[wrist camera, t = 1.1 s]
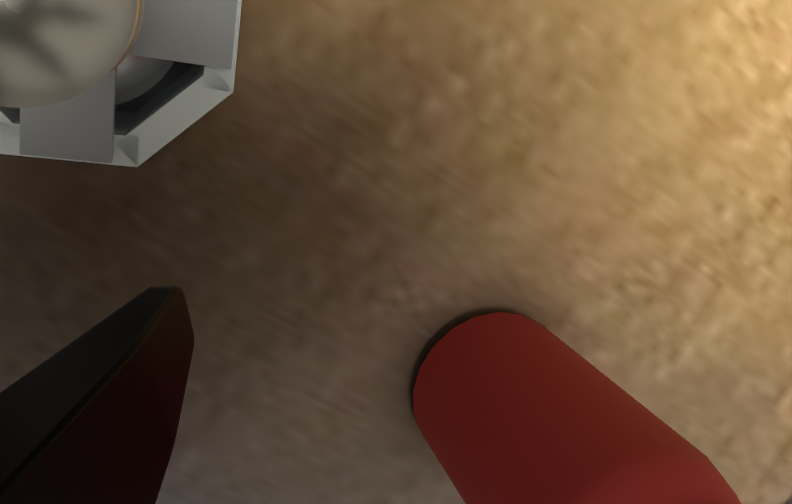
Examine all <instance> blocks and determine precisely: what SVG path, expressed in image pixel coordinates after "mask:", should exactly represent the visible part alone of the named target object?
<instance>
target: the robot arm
mask: <svg viewBox="0 0 792 504" xmlns="http://www.w3.org/2000/svg"><path fill="white" fill-rule="evenodd" d="M193 347H194V333H193V328H192V324H191V320H190V316H189V312H188V307H187V303H186V299H185V295H184V293H183V291H182V289H180V288H179V287H177V286H155V287H150V288H148V289H146V290H145V291H143V292H142V293H141V294H139V295H138V296H136V297H135V298H133V299H132V300H131V301H129V302H128V303H126V304H125V305H124V306H122V307H121V308H119V309H118V310H117V311H115V312H114V313H112V314H111V315H109V316H108V317H107V318H105V319H104V320H102V321H101V322H100V323H98V324H97V325H95V326H94V327H93V328H91V329H90V330H88V331H87V332H85V333H84V334H83V335H81V336H80V337H78V338H77V339H76V340H74V341H73V342H71V343H70V344H69V345H67V346H66V347H64V348H63V349H61V350H60V351H59V352H57V353H56V354H54V355H53V356H52V357H50V358H49V359H47V360H46V361H45V362H43V363H42V364H40V365H39V366H38V367H36V368H35V369H33V370H32V371H30V372H29V373H28V374H26V375H25V376H23V377H22V378H21V379H19V380H18V381H16V382H15V383H14V384H12V385H11V386H9V387H8V388H6V389H5V390H4V391H2V392H1V393H0V504H155V503H156V500H157V497H158V494H159V491H160V488H161V485H162V481H163V478H164V475H165V472H166V469H167V466H168V463H169V460H170V457H171V453H172V450H173V446H174V443H175V438H176V434H177V429H178V424H179V419H180V414H181V409H182V404H183V399H184V394H185V389H186V384H187V378H188V373H189V368H190V363H191V358H192V353H193Z"/></svg>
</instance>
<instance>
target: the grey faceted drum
mask: <svg viewBox="0 0 792 504" xmlns="http://www.w3.org/2000/svg"><path fill="white" fill-rule="evenodd" d="M241 4H242V0H144V16H143V23H142V27H141V30H140V34H139V36H138V38H137V41H136V43H135V45H134V47H133V48H132V50H131V51H130V53H129V54H131V55H138V56H144V57H151V58H157V59H164V60H170V61H174V63H173V64H172V66H171V67H170V69H169V70H168V72H167V73H166V74H165V75H164V76H163V78H162V79H161V80H160V81H159V82H158V83H156V84H155V85H154V86H153V87H152V88H151V89H149V90H148V91H146V92H145V93H143V94H142V95H140V96H138V97H136V98H134V99H132V100H130V101H128V102H125V103H122V104H119V105H115V104H116V82H117V67H116V68H115V69H114V70H113V71H112V72H110V73H109V74H108V75H107V76H106V77H104V78H103V79H102V80H101V81H100V82H99V83H97V84H96V85H95V86H93V87H91V88H90V89H88V90H87V91H85V92H84V93H82V94H80V95H78V96H75V97H73V98H71V99H69V100H66V101H63V102H59V103H56V104H52V105H47V106H41V107H30V108H14V107H2V106H0V154H6V155H17V156H27V157H37V158H48V159H58V160H68V161H79V162H89V163H99V164H109V165H120V166H130V167H138V166H139V165H141V164H142V163H143V162H144V161H146V160H147V159H148V158H150V157H151V156H152V155H153V154H155V153H156V152H157V151H159V150H160V149H161V148H162V147H164V146H165V145H166V144H168V143H169V142H170V141H171V140H173V139H174V138H175V137H176V136H178V135H179V134H180V133H182V132H183V131H184V130H185V129H187V128H188V127H189V126H191V125H192V124H193V123H194V122H196V121H197V120H198V119H200V118H201V117H202V116H203V115H205V114H206V113H207V112H208V111H210V110H211V109H212V108H214V107H215V106H216V105H217V104H219V103H220V102H221V101H223V100H224V99H225V98H226V97H228V96H229V95H230V94H232V93H233V90H234V80H235V69H236V58H237V47H238V36H239V26H240V15H241Z"/></svg>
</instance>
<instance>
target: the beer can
mask: <svg viewBox="0 0 792 504" xmlns="http://www.w3.org/2000/svg"><path fill="white" fill-rule="evenodd" d="M413 402H414V417H415V419H416V421H417V423H418V426H419V428H420V430H421V432H422V434H423V436H424V438H425V439H426V441H427V443H428V444H429V446H430V447H431V449H432V451H433V452H434V454H435V455H436V457H437V459H438V460H439V462H440V463H441V465H442V467H443V468H444V470H445V471H446V473H447V475H448V476H449V478H450V479H451V481H452V483H453V484H454V486H455V487H456V489H457V491H458V492H459V494H460V495H461V497H462V499H463V500H464V502H465V503H466V504H741V502H740V501H739V499H738V497H737V495H736V494H735V492H734V491H733V490H732V488H731V487H730V486H729V484H728V483H727V482H726V480H725V479H724V478H723V476H722V475H721V474H720V473H719V471H718V470H717V469H716V468H715V466H714V465H713V464H712V463H711V461H710V460H709V459H708V458H707V456H705V455H704V454H703V453H702V452H700V451H699V450H698V449H697V448H695V447H694V446H693V445H692V444H690V443H689V442H688V441H687V440H685V439H684V438H683V437H682V436H680V435H679V434H678V433H677V432H675V431H674V430H673V429H672V428H670V427H669V426H668V425H667V424H665V423H664V422H663V421H662V420H660V419H659V418H658V417H657V416H655V415H654V414H653V413H652V412H650V411H649V410H648V409H647V408H645V407H644V406H643V405H642V404H640V403H639V402H638V401H636V400H635V399H634V398H633V397H631V396H630V395H629V394H628V393H626V392H625V391H624V390H623V389H621V388H620V387H619V386H618V385H616V384H615V383H614V382H613V381H611V380H610V379H609V378H608V377H606V376H605V375H604V374H603V373H601V372H600V371H599V370H598V369H596V368H595V367H594V366H593V365H591V364H590V363H589V362H588V361H586V360H585V359H584V358H583V357H581V356H580V355H579V354H578V353H576V352H575V351H574V350H573V349H571V348H570V347H569V346H568V345H566V344H565V343H564V342H563V341H561V340H560V339H559V338H558V337H556V336H555V335H554V334H552V333H551V332H550V331H549V330H547V329H546V328H545V327H544V326H542V325H541V324H539V323H537V322H536V321H534V320H532V319H530V318H528V317H526V316H524V315H521V314H512V313H504V312H496V313H491V314H486V315H481V316H476V317H473V318H471V319H469V320H467V321H466V322H464V323H462V324H460V325H458V326H456V327H454V328H452V329H451V330H450V331H449V332H448V333H447V334H446V335H445V336H444V337H442V338H441V339H440V340H439V341H438V342H437V343H436V344H435V345H434V346H433V347H432V349H431V350H430V352H429V354H428V355H427V357H426V358H425V360H424V362H423V363H422V365H421V367H420V369H419V372H418V376H417V380H416V383H415V387H414V391H413Z"/></svg>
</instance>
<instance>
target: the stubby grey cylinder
mask: <svg viewBox="0 0 792 504" xmlns="http://www.w3.org/2000/svg"><path fill="white" fill-rule="evenodd" d="M143 16H144V0H0V106H2V107H14V108H30V107H41V106H47V105H52V104H56V103H59V102H63V101H66V100H69V99H71V98H73V97H75V96H78V95H80V94H82V93H84V92H85V91H87V90H88V89H90V88H91V87H93V86H95V85H96V84H97V83H99V82H100V81H101V80H102V79H103V78H104V77H106V76H107V75H108V74H109V73H110V72H112V71H113V70H114V69H115V68H116V67H117V82H116V104H115V105H119V104H122V103H125V102H128V101H130V100H132V99H134V98H136V97H138V96H140V95H142V94H143V93H145V92H146V91H148V90H149V89H151V88H152V87H153V86H154V85H155V84H156V83H158V82H159V81H160V80H161V79H162V78H163V76H164V75H165V74H166V73H167V72H168V70H169V69H170V67H171V66H172V64H173V63H174V61H170V60H164V59H157V58H151V57H144V56H138V55H131V54H129V53H130V51H131V50H132V48H133V47H134V45H135V43H136V41H137V38H138V36H139V34H140V30H141V27H142V23H143Z"/></svg>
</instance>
